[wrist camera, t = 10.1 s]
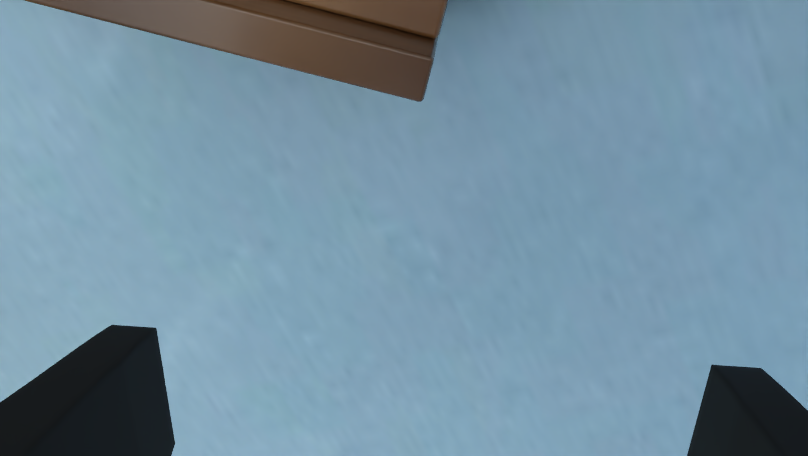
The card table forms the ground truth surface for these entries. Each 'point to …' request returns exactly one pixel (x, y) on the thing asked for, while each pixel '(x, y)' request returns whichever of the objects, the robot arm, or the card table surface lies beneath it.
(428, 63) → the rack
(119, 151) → the card table surface
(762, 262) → the card table surface
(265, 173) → the card table surface
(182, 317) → the card table surface
